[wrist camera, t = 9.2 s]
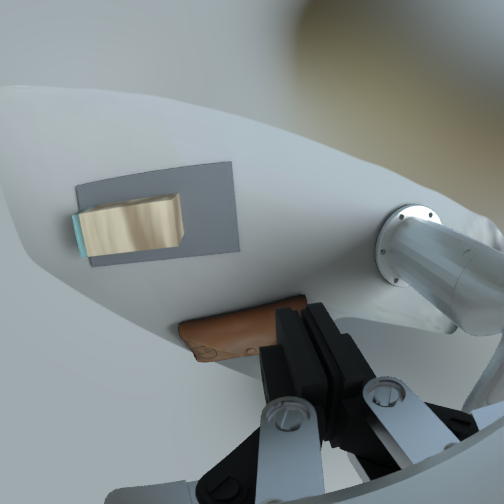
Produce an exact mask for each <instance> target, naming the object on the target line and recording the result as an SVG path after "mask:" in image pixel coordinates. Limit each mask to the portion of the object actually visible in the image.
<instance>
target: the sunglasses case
mask: <svg viewBox="0 0 504 504" xmlns="http://www.w3.org/2000/svg"><path fill="white" fill-rule="evenodd" d="M306 304H308V303H307V299H306V296H305V295H298V296H294V297H291V298H287V299H284V300H280V301H277V302H273V303H269V304H265V305H261V306H258V307H253V308H249V309H244V310H240V311H236V312H232V313H227V314H222V315H217V316H213V317H208V318H203V319H197V320H192V321H187V322H182V323H179V326H178V332H179V335H180V337H181V338H182V339H183V340H184V341H185V342H186V344H187V345H188V346H189V348H190V349H191V350H192V352H193V355H194V357H195V359H196V360H197V361H198V362H213V361H220V360H226V359H231V358H237V357H241V356H251V355H256V354H259V347H261V346H269V345H276V344H277V343H276V321H275V309H276V308H284V307H291V308H292V310H297V311H298V313H299V315H300V317H301V309H305V307H306Z"/></svg>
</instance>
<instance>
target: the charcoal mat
mask: <svg viewBox="0 0 504 504" xmlns="http://www.w3.org/2000/svg"><path fill="white" fill-rule="evenodd" d="M76 188H77V195H78V201H79V207H80V211H82V210H84V209H86V208H88V207H92V206H98V205H104V204H109V203H115V202H121V201H128V200H134V199H141V198H147V197H154V196H161V195H169V194H176V193H179V200H180V207H181V215H182V222H183V230H184V235H183V237H182V239H181V242H180V244H179V246H177V247H168V248H159V249H151V250H142V251H133V252H125V253H116V254H108V255H99V256H91V257H90V259H91V263H92V267H98V266H107V265H117V264H126V263H135V262H145V261H154V260H164V259H173V258H183V257H192V256H202V255H211V254H221V253H230V252H240V248H239V237H238V227H237V216H236V205H235V195H234V183H233V172H232V162H222V163H213V164H204V165H195V166H187V167H180V168H172V169H165V170H159V171H152V172H146V173H140V174H134V175H128V176H123V177H117V178H112V179H107V180H102V181H97V182H92V183H87V184H83V185H78V186H76Z"/></svg>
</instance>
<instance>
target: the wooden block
mask: <svg viewBox="0 0 504 504" xmlns="http://www.w3.org/2000/svg"><path fill="white" fill-rule="evenodd" d="M72 220H73V225H74V230H75V235H76V239H77V244H78V248H79V252H80V256H81V258H83V257H91V256H99V255H108V254H116V253H125V252H133V251H142V250H151V249H159V248H168V247H177V246H179V244H180V242H181V239H182V237H183V235H184V230H183V222H182V215H181V207H180V200H179V193H176V194H169V195H161V196H154V197H147V198H141V199H134V200H128V201H121V202H115V203H109V204H104V205H98V206H92V207H88V208H86V209H84V210H82V211H80V212H78V213H76V214H74V215H72Z"/></svg>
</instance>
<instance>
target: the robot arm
mask: <svg viewBox="0 0 504 504" xmlns="http://www.w3.org/2000/svg"><path fill="white" fill-rule="evenodd" d="M375 254H376V263H377V267H378V269H379V271H380V273H381V275H382V276H383V277H384V278H385V279H386V280H387V281H388V282H389V283H391V284H393V285H395V286H398V287H409V286H411V287H412V288H413V289H415V290H416V291H417V292H418V293H420V294H421V295H422V296H423V297H424V298H426V299H427V300H428V301H429V302H430V303H431V304H433V305H434V306H435V307H436V308H437V309H439V310H440V311H441V312H442V313H443V314H444V315H445V316H447V317H448V318H449V319H450V320H451V321H452V322H453V323H455V324H456V325H457V326H458V327H459V328H460V329H462V330H463V331H464V332H466V333H468V334H470V335H473V336H490V335H495V334H499V333H502V338H501V341H500V343H499V345H498V347H497V349H496V351H495V353H494V355H493V357H492V359H491V360H490V362H489V364H488V366H487V367H486V369H485V370H484V372H483V374H482V375H481V377H480V378H479V380H478V381H477V383H476V384H475V386H474V388H473V389H472V391H471V392H470V394H469V395H468V397H467V399H466V401H465V403H464V404H463V407H462V410H461V411H458V410H454V409H450V408H446V407H442V406H438V405H434V404H430V403H427V402H423V401H422V400H421V399H420V398H419V397H418V396H417V395H416V394H415V393H414V392H413V391H412V389H411V388H410V387H409V386H408V385H407V384H406V383H404V382H403V381H402V380H399V379H397V378H395V377H389V376H382V377H376V376H375V374H374V372H373V371H372V369H371V368H370V366H369V364H368V363H367V361H366V360H365V359H364V356H363V355H362V353H361V352H360V350H359V349H358V347H357V345H356V344H355V342H354V341H353V339H352V338H351V336H350V335H349V334H347V333H345V334H341V333H340V331H339V330H338V328H337V326H336V325H335V323H334V322H333V320H332V318H331V317H330V315H329V313H328V312H327V310H326V308H325V307H324V305H323V304H322V303H321V302H320V303H313V304H306V307H305V309H301V317H300V315H299V313H298V311H297V310H292V308H291V307H284V308H276V309H275V321H276V343H277V344H276V345H269V346H261V347H259V356H260V367H261V375H262V382H263V388H264V394H265V400H266V406H265V407H264V409H263V410H262V414H261V421H260V427H259V428H258V429H257V430H255V431H254V432H253V433H252V434H251V435H250V436H249V437H248V438H247V439H246V440H245V441H243V442H242V443H241V444H240V445H239V446H238V447H237V448H236V449H234V450H233V451H232V452H231V453H230V454H229V455H228V456H226V457H225V458H224V459H223V460H222V461H221V462H219V463H218V464H217V465H216V466H215V467H213V468H212V469H211V470H210V471H208V472H207V473H206V474H205V475H203V477H202V478H201V479H200V480H198V481H192V482H186V481H185V480H182V481H176V482H170V483H163V484H155V485H148V486H137V487H126V488H120V489H115V490H113V491H112V492H110V493H109V494H108V496H107V497H106V499H105V502H104V504H504V253H502V252H500V251H498V250H496V249H493V248H491V247H489V246H487V245H485V244H483V243H481V242H479V241H477V240H475V239H472V238H470V237H468V236H466V235H464V234H462V233H459V232H457V231H455V230H453V229H450V228H448V227H446V226H443V225H442V223H441V221H440V219H439V217H438V216H437V214H436V213H435V212H434V211H433V210H431V209H430V208H428V207H425V206H423V205H418V204H410V205H407V206H404V207H402V208H400V209H398V210H397V211H395V212H394V213H393V214H392V215H391V216H390V217H389V218H388V219H387V221H386V222H385V224H384V225H383V227H382V229H381V231H380V233H379V236H378V239H377V243H376V251H375ZM323 440H324V441H330V444H331V447H332V448H335V447H340V449H342V450H344V451H347V454H348V458H349V460H350V461H351V463H352V465H353V466H354V468H355V470H356V471H357V473H358V474H359V476H360V478H361V479H362V481H363V483H362V484H359V485H356V486H352V487H349V488H345V489H342V490H338V491H334V492H330V493H326V494H325V489H324V478H323V468H322V459H321V447H322V442H323Z"/></svg>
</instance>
